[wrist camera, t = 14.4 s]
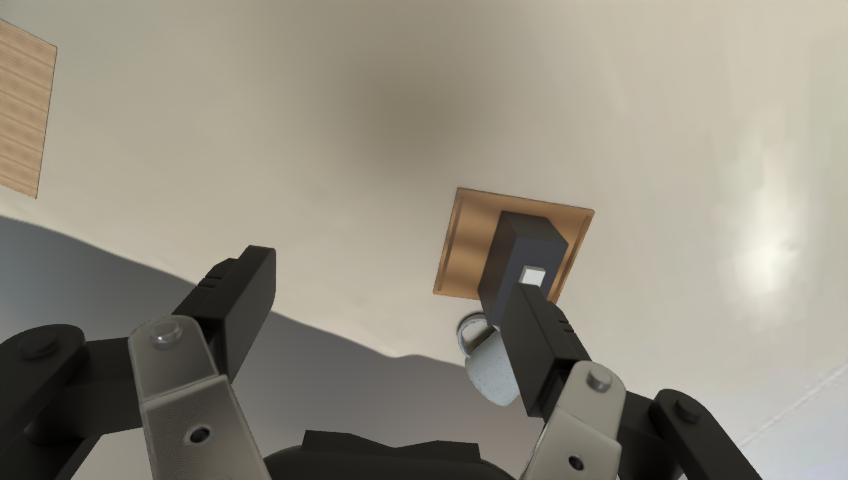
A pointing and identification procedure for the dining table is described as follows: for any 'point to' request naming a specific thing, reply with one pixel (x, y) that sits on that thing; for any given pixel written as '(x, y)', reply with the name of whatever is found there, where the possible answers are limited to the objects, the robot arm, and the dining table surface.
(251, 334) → the robot arm
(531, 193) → the dining table surface
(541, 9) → the dining table surface
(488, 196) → the wooden cutting board
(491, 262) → the tissue box
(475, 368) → the ceramic mug
